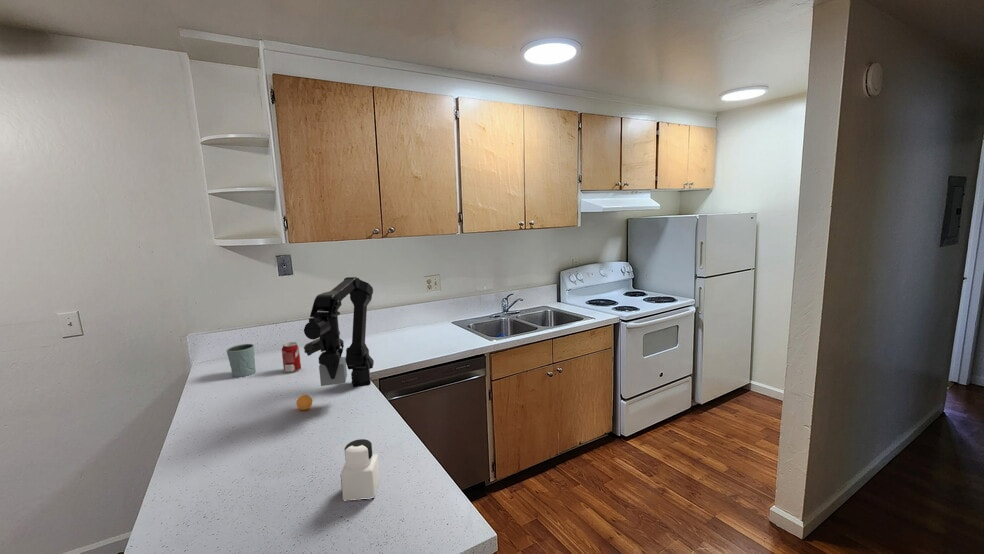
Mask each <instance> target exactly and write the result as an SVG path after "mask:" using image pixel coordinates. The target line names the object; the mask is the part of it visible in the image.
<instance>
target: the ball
mask: <svg viewBox="0 0 984 554" xmlns="http://www.w3.org/2000/svg"><path fill="white" fill-rule="evenodd" d="M312 405H313V398H312V397H311V396H310V395H308V394H302V395H300V396H299V397H298V398H297V400H296V407H297V408H298V409H299V410H301V411H307V410H308V409H310V408H311V407H312Z"/></svg>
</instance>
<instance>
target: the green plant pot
mask: <svg viewBox="0 0 984 554" xmlns="http://www.w3.org/2000/svg"><path fill="white" fill-rule="evenodd" d="M226 355H227V358H228V362H229V367H230V369H231V370H230V371H231V375H232V377H233V378H234V377H242V378H246V376H247V377H250V376H253V375H254V374H256V372H257V371H256V361H255V360H256V359H255V345H254V344H253V343H242V344H236V345H233V346H231V347H228V348H226ZM252 374H253V375H252ZM249 375H250V376H249Z"/></svg>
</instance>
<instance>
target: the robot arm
mask: <svg viewBox="0 0 984 554" xmlns="http://www.w3.org/2000/svg"><path fill="white" fill-rule="evenodd" d="M373 294H374V288H373V287H372V285H371V284H370V283H369V282H366V281H364V280H361V279H360V277H357V276H351V277H350V276H347V277H345V278H344V279H343V280H342V281H340V283H338V285H336V286H335V287H333V289H331V290H329V291H326V292H322V293H319V294H317V295H316V297H315V298H314V300H313V304H312V307H311V311H310V313H309V314H310V315H309V318H308V322H307V323H306V324H305V326H304V328H303V333H304V335H305V337H306V338H308V339H309V340H312V341H310V342H307V343H306V344H305V345H304V347H303V350H304V353H305V354H306V355H307V356H308V357H309V356H311V355H313V354H315V353H316V352H319V351H320V352H321V353H320V354H319V356H318V364H319V365H320V364H321V365H324V366H326V368H327V370H328V372H329V375H330V378H331V379H335V376H336V372H337V369H338V365H339V362H340V357H342V354H343V351H344V347H345V346H344V345H345V344H344V343H345V341H344V340H342V338H340V335H341V331H340V329H339V318H338V317H339V315H341V312H340V311H338V310H339V309H340V307H341V306H342V301H343V299H345V298H346V297H348V295H349V299H350V301H351V303H352V305H353V318H352V337H351V344H350V346H349V347H347V348H346V349H345V352H346V353H345V359H346V368H347V370H351V372H350V377H351V384H352V386H353V387H360V386H367V385H368V386H370V385H371V383H372V382H371V381H372V378H371V372H370V371H371V369H374V363H375V362H374V361H375V360H374V359H373V358H372V356H371V355H370V350H369V348H368V346H367V344H366V329H367V313H368V312H367V310H368V306H369V304H370V303H371V301H372V297H373Z"/></svg>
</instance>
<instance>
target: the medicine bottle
mask: <svg viewBox="0 0 984 554" xmlns="http://www.w3.org/2000/svg"><path fill="white" fill-rule="evenodd" d="M372 444H373V443H372V442H371V441H370V440H369V439H366V438H360V439H356V440H352V441H350V442H349V443H347V444H346V445H345V447H344V457H345V458H344V459H345V463H344V465H343V468H342V469H341V471H340V483H341V484H340V485H341V494H342V501H343V500H351V499H352V500H353V499H361V498H370V497H374V496H375V497H376V495H375V493H376V494H377V492H376V490H377V491H378V488H377V486H378V487H379V485H378V483H379V484H380V481H379V479H380V480H381V478H380V467H379V454H377V453H375V454H374V453H373V445H372Z"/></svg>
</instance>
